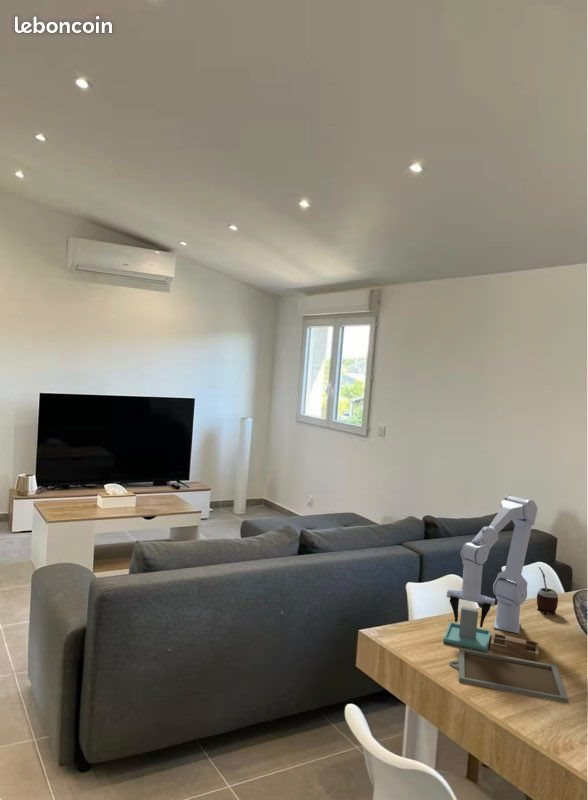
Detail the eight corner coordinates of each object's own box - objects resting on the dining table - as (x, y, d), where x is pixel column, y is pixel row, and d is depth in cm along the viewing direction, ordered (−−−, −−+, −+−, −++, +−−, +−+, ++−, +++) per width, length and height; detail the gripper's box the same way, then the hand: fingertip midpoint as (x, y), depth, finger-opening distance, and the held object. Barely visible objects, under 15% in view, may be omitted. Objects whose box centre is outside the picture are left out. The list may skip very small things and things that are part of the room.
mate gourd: (555, 617, 211) (558, 576, 211) (531, 611, 215) (535, 571, 215) (558, 611, 218) (561, 571, 217) (535, 605, 222) (538, 566, 221)
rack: (492, 639, 189) (492, 632, 189) (538, 649, 184) (538, 642, 184) (490, 650, 182) (490, 643, 181) (537, 660, 176) (538, 653, 176)
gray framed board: (568, 699, 153) (448, 676, 161) (567, 705, 154) (448, 681, 162) (556, 665, 172) (450, 646, 180) (556, 670, 172) (449, 651, 180)
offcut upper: (504, 642, 184) (505, 635, 184) (525, 646, 182) (525, 640, 182) (504, 646, 181) (505, 639, 181) (525, 650, 179) (526, 644, 179)
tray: (449, 626, 197) (450, 621, 197) (490, 635, 192) (491, 630, 192) (443, 642, 184) (443, 638, 184) (486, 652, 179) (487, 647, 179)
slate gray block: (459, 634, 190) (461, 606, 190) (476, 637, 188) (478, 610, 188) (459, 636, 188) (461, 608, 188) (475, 640, 186) (477, 612, 186)
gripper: (446, 580, 187) (443, 622, 187) (495, 589, 181) (491, 633, 182) (449, 574, 193) (446, 615, 194) (496, 582, 188) (493, 625, 188)
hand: (468, 623), depth 188 cm, fingers open, 7 cm apart
